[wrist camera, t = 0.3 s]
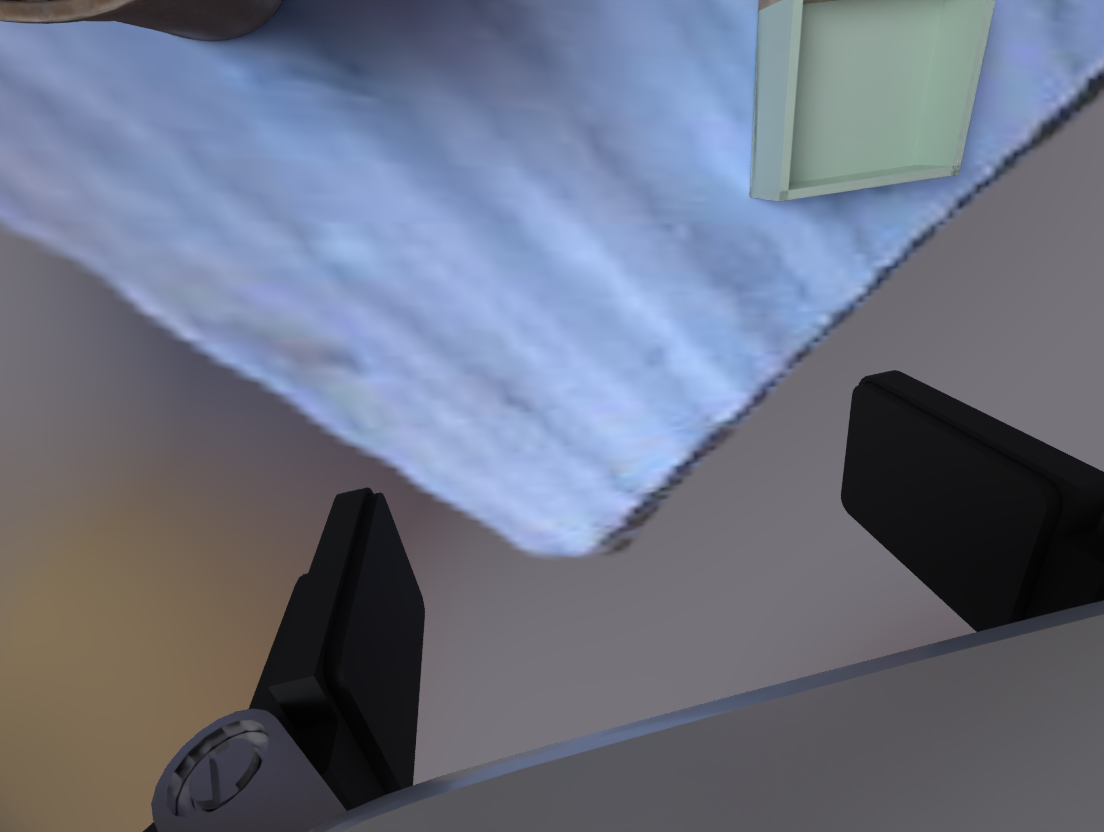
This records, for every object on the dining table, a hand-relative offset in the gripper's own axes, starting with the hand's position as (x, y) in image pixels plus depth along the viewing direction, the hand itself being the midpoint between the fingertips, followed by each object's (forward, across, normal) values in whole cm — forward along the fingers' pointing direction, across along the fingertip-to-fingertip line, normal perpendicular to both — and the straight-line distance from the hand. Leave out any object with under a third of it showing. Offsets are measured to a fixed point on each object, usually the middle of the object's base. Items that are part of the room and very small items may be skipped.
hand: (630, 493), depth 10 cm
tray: (+31, -25, -5) cm, 40 cm away
